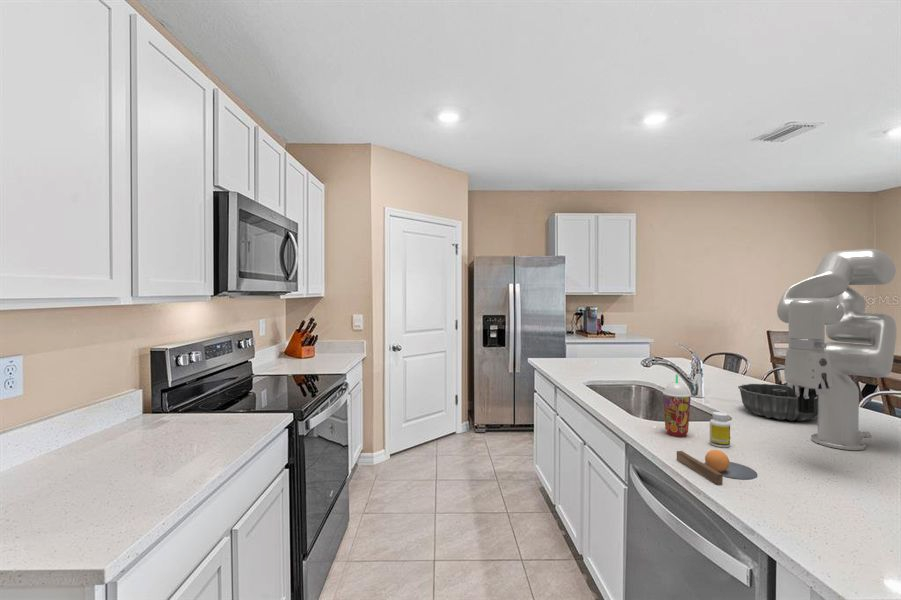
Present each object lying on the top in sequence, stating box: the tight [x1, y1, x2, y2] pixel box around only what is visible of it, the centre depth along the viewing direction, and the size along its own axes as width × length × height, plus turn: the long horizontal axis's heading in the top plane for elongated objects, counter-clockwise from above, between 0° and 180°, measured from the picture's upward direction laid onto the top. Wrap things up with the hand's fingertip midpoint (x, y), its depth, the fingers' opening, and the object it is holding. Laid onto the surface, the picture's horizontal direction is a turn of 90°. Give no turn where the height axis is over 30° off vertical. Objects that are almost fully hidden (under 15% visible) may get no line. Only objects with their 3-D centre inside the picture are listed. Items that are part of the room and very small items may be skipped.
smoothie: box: [662, 374, 692, 438], centre depth 144 cm, size 8×8×20 cm
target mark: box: [704, 461, 758, 481], centre depth 115 cm, size 12×12×1 cm
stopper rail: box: [676, 450, 723, 486], centre depth 114 cm, size 2×16×2 cm, turn 5°
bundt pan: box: [737, 383, 818, 422], centre depth 166 cm, size 26×26×10 cm
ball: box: [704, 449, 730, 472], centre depth 114 cm, size 6×6×6 cm
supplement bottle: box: [709, 411, 731, 448], centre depth 134 cm, size 5×5×10 cm
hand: (806, 412), depth 117 cm, fingers closed
